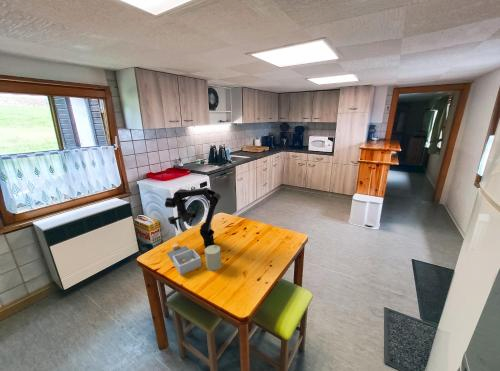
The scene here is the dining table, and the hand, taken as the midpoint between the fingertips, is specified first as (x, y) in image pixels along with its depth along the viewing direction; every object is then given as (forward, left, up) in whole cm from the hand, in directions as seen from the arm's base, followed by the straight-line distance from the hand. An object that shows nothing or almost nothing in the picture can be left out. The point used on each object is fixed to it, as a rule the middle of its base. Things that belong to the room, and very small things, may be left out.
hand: (184, 227), depth 154 cm
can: (-16, +32, -12) cm, 38 cm away
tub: (-1, +27, -12) cm, 29 cm away
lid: (+5, +11, -12) cm, 17 cm away
